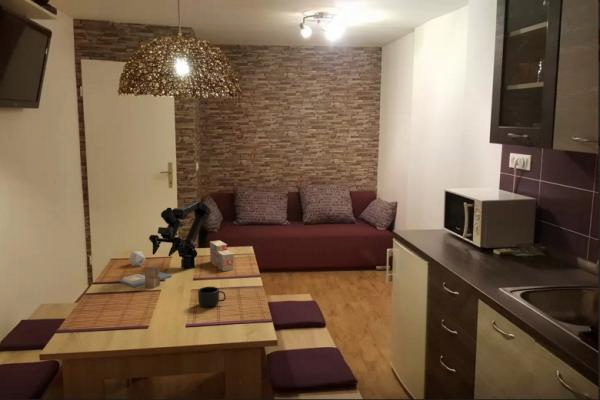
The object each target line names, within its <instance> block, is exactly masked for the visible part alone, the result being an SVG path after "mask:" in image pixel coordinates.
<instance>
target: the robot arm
mask: <svg viewBox="0 0 600 400" xmlns="http://www.w3.org/2000/svg"><path fill="white" fill-rule="evenodd" d="M211 211H212V210H211V208H210V207H209V206H208V205H206V204H205V203H203V202H202V201H200V200H192V201H190V203H188V204H185V205H184V206H181V207H174V208H172V207H167V208H166V209H164V210H162V211H161V213H160V217H161V218H162V220H163V221H164V222H165V224H167V227H162V226H159V227H158V229H157V234H151V235H149V237H148V240H149V241H150V242H151V244H152V252H151V254H152V255H153V256H154V255H156V253H157V251H158V250H159V248H160V246H161V244H162V243H170V244H171V247H170V249H169V252H168V257H171V256H172V255H173V254H175V253H176V252H178V253H177V254H178V257H179V258H181V259H180V267H181V268H182V269H184V270H188V269H189V270H190V269H194V268H195V269H196V268H197V267H196V263H195V261H196V260H195V259H196V258H197V256H198V252H197V250H196V246H195V241H196V239H197V236H198V234H199V232H200V230H201V228H202V225H203V223H204V222H205V221H206V220H208V219H209V216H210V215H211ZM190 213H194V215H193V216H194V220H193V222H192V224H191V226H190V229H189V231H188V233H187V235H186V238H185V239H184V238H183V237H182V236H178V235H179V233H178V231H179V229H180V227H181V228H182V227H183V223H182V221H183V220H186V219H187V218H188V216H189V214H190ZM180 220H182V221H180ZM158 234H159V235H160V236H159V235H158Z"/></svg>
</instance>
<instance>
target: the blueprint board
mask: <svg viewBox="0 0 600 400" xmlns="http://www.w3.org/2000/svg"><path fill="white" fill-rule="evenodd" d="M159 272H160V281H162V280H166V279H170V278H173V276H172V275H171V274H169V273H165V272H161V271H159ZM118 283H121V284H123V285H126V286H129V287H132V288H138V287H141V286H144V285H145V272H144V273H141V274H138V273H136V274H132V275H129V276H128V275H127V276H125V277H122V279H119V280H118Z"/></svg>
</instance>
